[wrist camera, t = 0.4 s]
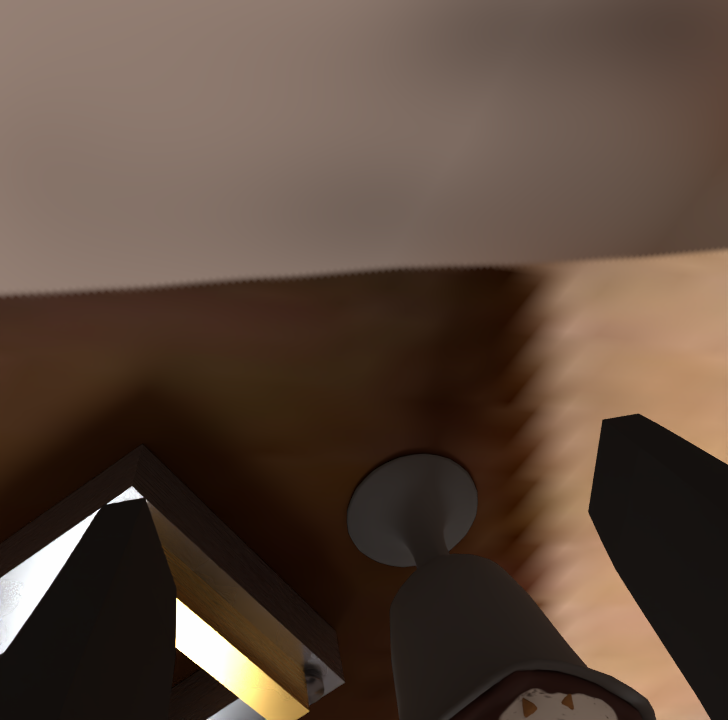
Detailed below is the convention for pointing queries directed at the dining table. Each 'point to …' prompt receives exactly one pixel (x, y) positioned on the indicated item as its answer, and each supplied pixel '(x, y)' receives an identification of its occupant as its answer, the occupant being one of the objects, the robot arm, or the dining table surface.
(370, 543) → the sundae
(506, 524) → the dining table surface
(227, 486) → the dining table surface
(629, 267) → the dining table surface
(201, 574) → the grey square frame
